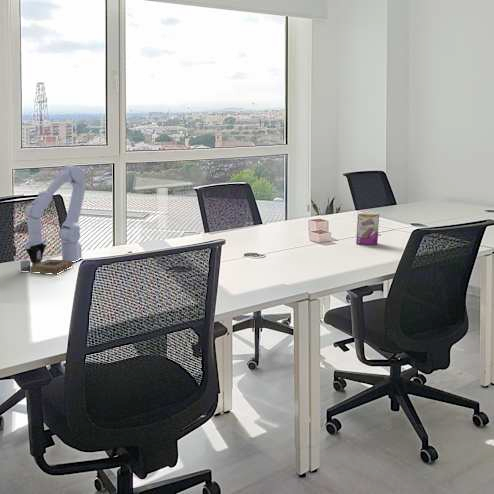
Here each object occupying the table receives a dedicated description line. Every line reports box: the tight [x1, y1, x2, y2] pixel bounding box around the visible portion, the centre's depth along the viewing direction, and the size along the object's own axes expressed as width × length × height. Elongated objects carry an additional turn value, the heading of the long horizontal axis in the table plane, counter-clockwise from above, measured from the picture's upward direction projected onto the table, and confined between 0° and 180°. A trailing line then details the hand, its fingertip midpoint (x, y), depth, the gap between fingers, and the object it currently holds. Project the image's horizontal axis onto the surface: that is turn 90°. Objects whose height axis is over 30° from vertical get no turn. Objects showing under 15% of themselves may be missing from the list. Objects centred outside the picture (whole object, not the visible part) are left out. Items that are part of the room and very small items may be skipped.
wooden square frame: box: [30, 258, 74, 274], centre depth 299 cm, size 14×12×3 cm
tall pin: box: [31, 249, 42, 266], centre depth 304 cm, size 4×4×8 cm
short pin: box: [20, 259, 31, 272], centre depth 296 cm, size 4×4×4 cm
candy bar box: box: [355, 211, 380, 246], centre depth 359 cm, size 11×5×16 cm, turn 84°
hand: (36, 261), depth 305 cm, fingers closed on tall pin, 4 cm apart
